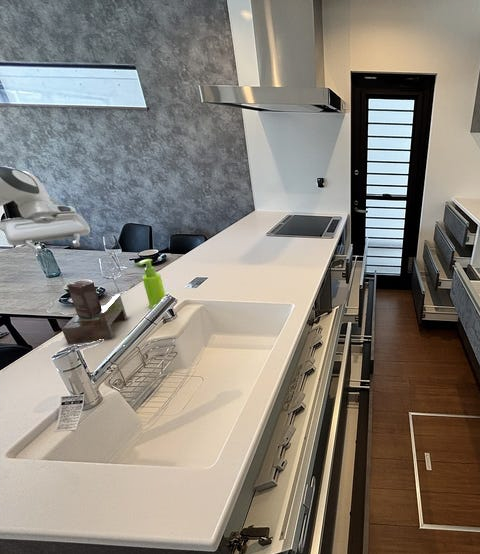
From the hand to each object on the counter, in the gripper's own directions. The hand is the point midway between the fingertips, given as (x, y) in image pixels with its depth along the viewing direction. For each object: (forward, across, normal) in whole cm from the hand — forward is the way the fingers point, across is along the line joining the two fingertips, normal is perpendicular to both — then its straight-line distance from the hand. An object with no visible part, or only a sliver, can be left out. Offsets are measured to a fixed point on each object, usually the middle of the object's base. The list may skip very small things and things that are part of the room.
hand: (59, 249), depth 102 cm
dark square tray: (+28, +1, +10) cm, 30 cm away
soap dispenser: (+26, +21, +13) cm, 36 cm away
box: (+24, 0, +6) cm, 25 cm away
